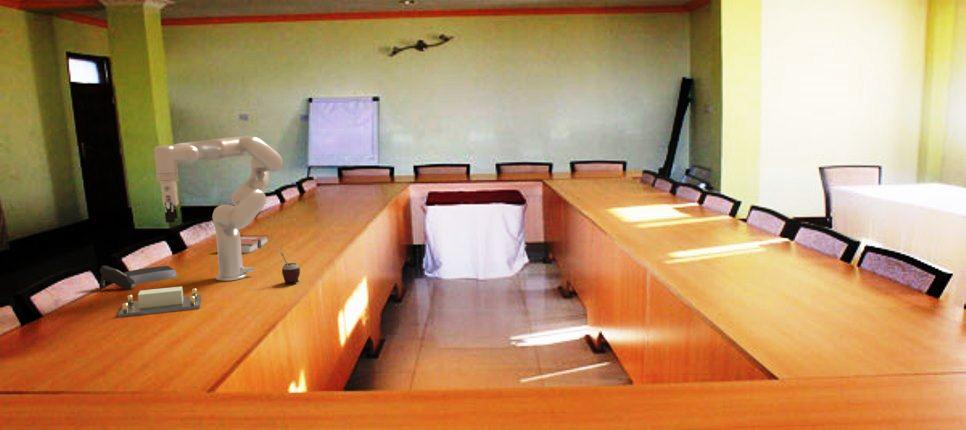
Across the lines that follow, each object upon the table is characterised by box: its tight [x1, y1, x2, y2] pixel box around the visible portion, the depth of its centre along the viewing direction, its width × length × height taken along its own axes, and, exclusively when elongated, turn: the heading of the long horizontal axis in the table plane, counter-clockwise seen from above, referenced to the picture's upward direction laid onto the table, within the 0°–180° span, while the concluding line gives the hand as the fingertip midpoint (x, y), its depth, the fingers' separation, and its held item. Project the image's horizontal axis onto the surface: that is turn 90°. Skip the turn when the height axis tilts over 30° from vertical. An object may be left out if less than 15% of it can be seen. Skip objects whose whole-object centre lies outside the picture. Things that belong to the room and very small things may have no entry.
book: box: [216, 234, 269, 254], centre depth 333 cm, size 26×18×5 cm
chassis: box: [117, 287, 203, 318], centre depth 232 cm, size 26×15×4 cm, turn 111°
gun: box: [99, 265, 136, 291], centre depth 258 cm, size 3×16×10 cm, turn 79°
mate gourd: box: [275, 248, 301, 286], centre depth 262 cm, size 8×8×15 cm
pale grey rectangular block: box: [137, 286, 184, 308], centre depth 232 cm, size 14×6×5 cm, turn 111°
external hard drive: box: [123, 265, 178, 285], centre depth 273 cm, size 13×19×4 cm
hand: (171, 220), depth 251 cm, fingers open, 9 cm apart
